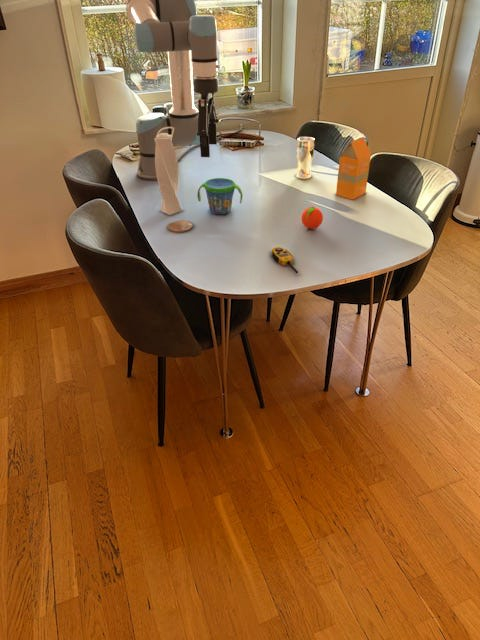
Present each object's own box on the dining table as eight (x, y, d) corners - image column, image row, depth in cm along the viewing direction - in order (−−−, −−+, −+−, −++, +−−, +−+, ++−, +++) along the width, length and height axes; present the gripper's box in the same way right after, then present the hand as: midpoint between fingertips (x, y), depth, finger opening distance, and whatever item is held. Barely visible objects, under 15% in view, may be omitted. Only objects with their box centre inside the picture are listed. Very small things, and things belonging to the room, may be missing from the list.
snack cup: (245, 207, 170) (245, 179, 164) (238, 219, 162) (237, 190, 156) (204, 203, 173) (202, 176, 167) (194, 215, 165) (192, 186, 159)
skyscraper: (174, 204, 173) (166, 124, 156) (187, 210, 168) (180, 128, 152) (156, 211, 168) (146, 129, 152) (169, 217, 164) (160, 133, 147)
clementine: (315, 235, 151) (317, 214, 147) (295, 230, 154) (296, 209, 150) (325, 226, 156) (327, 205, 152) (306, 221, 159) (307, 201, 155)
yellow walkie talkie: (283, 244, 142) (305, 267, 130) (283, 250, 143) (305, 273, 131) (268, 247, 141) (289, 270, 129) (268, 253, 142) (289, 276, 130)
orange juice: (365, 193, 180) (373, 138, 168) (353, 199, 174) (360, 144, 163) (348, 188, 184) (354, 134, 172) (335, 194, 179) (341, 140, 167)
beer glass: (292, 178, 194) (295, 140, 185) (297, 172, 199) (299, 135, 190) (309, 180, 192) (312, 142, 183) (313, 174, 197) (316, 137, 188)
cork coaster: (171, 221, 161) (171, 220, 161) (194, 222, 160) (194, 221, 160) (165, 231, 154) (165, 230, 154) (189, 232, 154) (189, 231, 153)
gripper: (210, 85, 129) (214, 163, 142) (224, 70, 149) (226, 139, 162) (184, 85, 130) (189, 162, 143) (201, 70, 150) (204, 138, 163)
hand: (209, 150), depth 152 cm, fingers open, 13 cm apart
